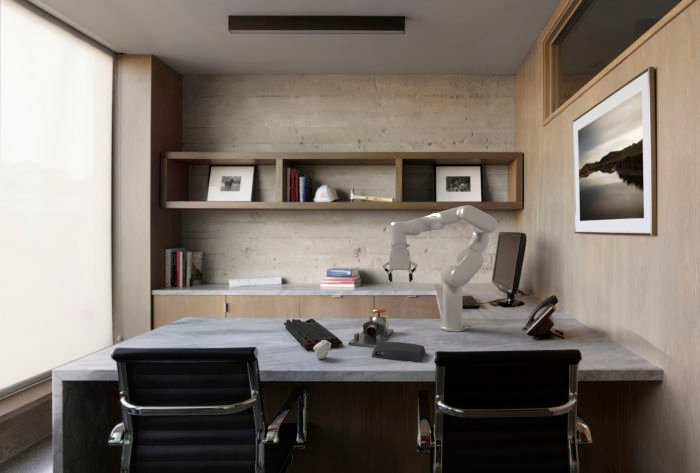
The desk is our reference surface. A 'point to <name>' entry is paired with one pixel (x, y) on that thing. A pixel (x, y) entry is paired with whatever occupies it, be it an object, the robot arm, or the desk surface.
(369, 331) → the morel mushroom
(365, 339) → the stand
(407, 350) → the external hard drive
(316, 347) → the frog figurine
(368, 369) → the desk surface
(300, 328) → the keyboard
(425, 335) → the desk surface
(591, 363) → the desk surface
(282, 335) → the desk surface
